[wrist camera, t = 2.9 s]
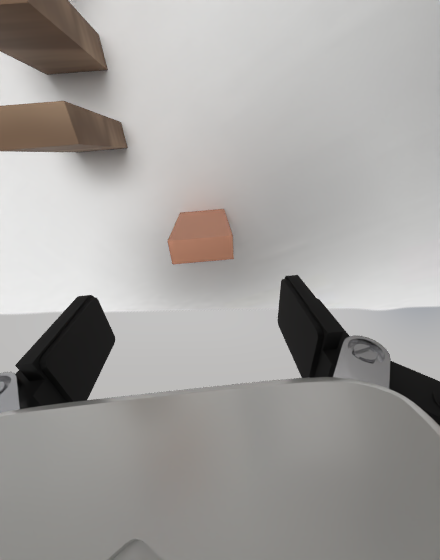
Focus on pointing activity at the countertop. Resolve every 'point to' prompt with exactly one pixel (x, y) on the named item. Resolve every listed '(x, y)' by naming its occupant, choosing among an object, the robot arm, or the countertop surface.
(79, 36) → the domino
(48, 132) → the domino
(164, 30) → the countertop surface
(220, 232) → the domino
